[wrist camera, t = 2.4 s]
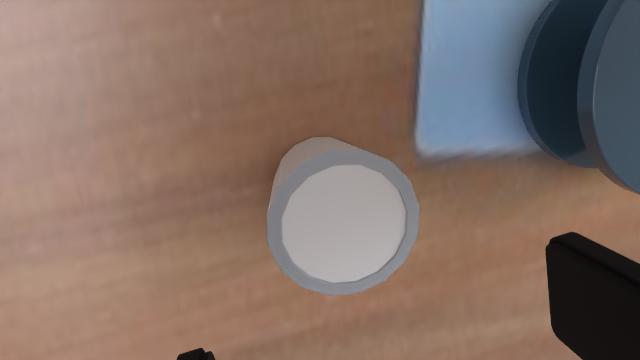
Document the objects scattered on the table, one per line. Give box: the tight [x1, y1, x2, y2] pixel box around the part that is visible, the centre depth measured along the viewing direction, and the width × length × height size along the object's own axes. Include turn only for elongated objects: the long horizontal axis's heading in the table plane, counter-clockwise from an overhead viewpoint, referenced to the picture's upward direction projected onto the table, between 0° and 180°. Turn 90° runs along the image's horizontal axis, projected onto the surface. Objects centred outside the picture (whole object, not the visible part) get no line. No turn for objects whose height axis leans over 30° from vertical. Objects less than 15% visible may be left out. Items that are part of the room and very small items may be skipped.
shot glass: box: [267, 137, 420, 295], centre depth 20 cm, size 7×7×7 cm
